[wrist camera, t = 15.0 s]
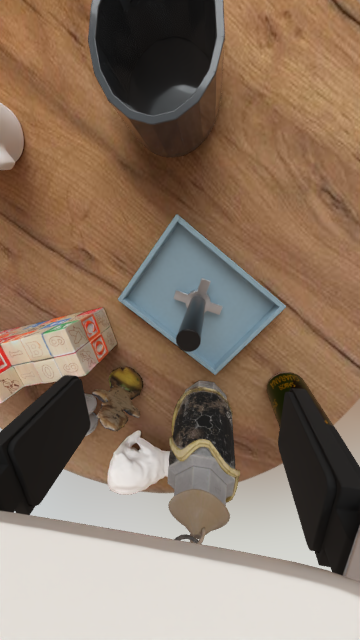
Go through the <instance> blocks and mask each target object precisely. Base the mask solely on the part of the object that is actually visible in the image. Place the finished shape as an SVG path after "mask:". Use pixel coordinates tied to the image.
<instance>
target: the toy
mask: <svg viewBox="0 0 360 640" xmlns="http://www.w3.org/2000/svg"><path fill="white" fill-rule="evenodd" d="M142 380H143V379H142V378H141V377H140V375H139V374H138V373H136V372H135V371H134V369H132V368H129V367H124V368H122V367H121V368H120V367H119V368H117V369H116V370H113V372H112V373H111V374H110V376H109V382H110V388H111V389H110V390H109V392H107V391H105V390H103V389H101V390H99V389H96V390H94V392H93V393H92V395H94V396H96V397H97V398H98V399H99V400H101V401H102V402H103V403H102V404H101V406H102V407H101V410H100V412H99V413H98V415H97V419H100V423H101V424H102V426H103V427H104V428H106V429H110V430H112V431H118V430H120V428H122V427H124V425H125V424H126V422H127V421H128V417H127V415H126V414H125V413H124V412H123V410H124V411H125V412H127V413H128V414H129V415H132V416H134V417H137V418H139V417H140V411H139V410H138V409H137V408H135V407H134V406H133V404H132V401H131V400H132V399H134V398H135V397H136V396H138V395H140V392H141V390H142V387H143V381H142Z"/></svg>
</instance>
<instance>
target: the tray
mask: <svg viewBox="0 0 360 640" xmlns="http://www.w3.org/2000/svg"><path fill="white" fill-rule="evenodd" d="M202 278H203V279H206V280H209V281H211V282H210V285H209V288H208V290H207V293H208V294H209V296H210V302H212V303H215V304H218V305H221V306H223V308H222V310H221V312H220V315H218V314H215V313H212V312H210V311H206V312H205V313H204V320H203V328H202V335H201V343H200V346H199V347H198V348H197V349H196V350H194V351H191V352H186V351H185V352H186V353H187V354H189V355H190V356H191V357H193V358H194V359H195V360H196V361H198V362H199V363H200V364H202V365H203V366H204V367H205V368H207V369H208V370H209V371H211V372H212V373H213V374H215V375H216V374H217V373H218V372H219V371H220V370H221V369H222V368H223V367H224V366H225V365H226V364H227V363H228V362H229V361H230V360H232V359H233V358H234V357H235V356H236V355H237V354H238V353H239V352H240V351H241V350H242V349H243V348H244V347H245V346H246V345H247V344H248V343H249V342H250V341H251V340H252V339H253V338H254V337H255V336H256V335H258V334H259V333H260V332H261V331H262V330H263V329H264V328H265V327H266V326H267V325H268V324H269V323H270V322H271V321H272V320H273V319H274V318H275V317H276V316H277V315H278V314H279V313H280V312H281V311H283V310H284V309H285V308H286V306H285V305H284V304H283V303H282V302H281V301H279V300H278V299H277V298H276V297H275V296H273V295H272V294H271V293H270V292H269V291H268V290H266V289H265V288H264V287H263V286H262V285H260V284H259V283H258V282H257V281H256V280H255V279H253V278H252V277H251V276H250V275H249V274H247V273H246V272H245V271H244V270H243V269H242V268H240V267H239V266H238V265H237V264H236V263H234V262H233V261H232V260H231V259H230V258H228V257H227V256H226V255H225V254H224V253H223V252H221V251H220V250H219V249H218V248H217V247H215V246H214V245H213V244H212V243H211V242H210V241H208V240H207V239H206V238H205V237H204V236H202V235H201V234H200V233H199V232H198V231H197V230H195V229H194V228H193V227H192V226H191V225H189V224H188V223H187V222H186V221H185V220H184V219H182V218H181V217H180V216H179V215H177V214H176V215H175V217H174V218H173V220H172V221H171V223H170V224H169V226H168V227H167V228H166V230H165V231H164V233H163V234H162V236H161V237H160V239H159V240H158V242H157V243H156V244H155V246H154V247H153V249H152V250H151V252H150V253H149V255H148V256H147V258H146V259H145V261H144V262H143V263H142V265H141V266H140V268H139V269H138V271H137V272H136V274H135V275H134V277H133V278H132V279H131V281H130V282H129V284H128V285H127V287H126V288H125V290H124V291H123V293H122V294H121V295H120V297H119V298H118V300H119V301H120V302H121V303H123V304H124V305H125V306H126V307H128V308H129V309H130V310H132V311H133V312H134V313H136V314H137V315H138V316H139V317H141V318H142V319H143V320H145V321H146V322H147V323H148V324H150V325H151V326H152V327H154V328H155V329H156V330H158V331H159V332H160V333H161V334H163V335H164V336H165V337H167V338H168V339H169V340H170V341H172V342H173V343H174V344H176V345H177V343H176V336H177V334H178V331H179V329H180V326H181V324H182V321H183V318H184V316H185V313H186V311H187V307H186V303H184V302H181V301H178V300H175V299H173V298H174V295H175V292H176V290H178V291H181V292H184V293H186V294H189V293H190V292H191V291H192V290H195V289H198V287H199V284H200V281H201V279H202ZM177 346H178V345H177Z"/></svg>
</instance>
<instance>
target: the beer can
mask: <svg viewBox="0 0 360 640" xmlns="http://www.w3.org/2000/svg"><path fill="white" fill-rule="evenodd" d="M291 388H294V389H306V390H307V391H308V393H309V395H310V396H311V398H312V400H313V401H314V403H315V405H316V406H317V408H318V410H319V412H320V413H321V415H322V417H323V418H324V420H325V422H326V423H327V425H332V426H333V424H332V423H331V421H330V420H329V418H328V417H327V415H326V414H325V412H324V411H323V409H322V408H321V406H320V404H319V403H318V401H317V400H316V398H315V397H314V395H313V394H312V392H311V391H310V389H309V388H308V386H307V385H306V383H305V382H304V380H303V379H302V378H301V377H300V376H298V375H296V374H294V373H291V372H281V373H277V374H275V375H274V376H273V377H272V378H271V379H270V380H269V382H268V385H267V393H268V396H269V399H270V402H271V405H272V407H273V410H274V413H275V416H276V419H277V421H278V424H279V427H280V424H281V417H282V410H283V403H284V396H285V392H289V391H290V389H291Z"/></svg>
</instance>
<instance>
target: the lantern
mask: <svg viewBox="0 0 360 640" xmlns="http://www.w3.org/2000/svg"><path fill="white" fill-rule="evenodd" d="M172 436H173V437H170V440H169V443H170V447H171V449H170V455H169V467H168V484H169V485H170V486H171V487H172V488H173V489H175V493H174V497H173V498H172V499H171V501H170V502H169V510H170V512H171V514H172V515H173V516H174V517H175V518H176V519H177V520H178V521H179V522H180V523H181V524H182V525H184V526H185V527H186V528H187V529H188V530H189V532H190V533H191V534H190V535H180V536H179V537H177V538H176V539H174V540H179V541H180V540H181V539H190V542H191V543H194V542H195V543H196V544H201V543H202V542H203V539H204V536H205V535H206V534H207V533H209V532H210V531H212V530H216V529H218V528H221V527H222V526H224V525H225V524H226V523H227V522H228V521H229V518H230V514H229V512H228V510H227V508H226V502H229V501H231V500H232V498H233V497H234V495H235V492H236V489H237V485H238V479H239V476H240V471H239V470H237V469H236V470H235V455H234V439H233V424H232V410H231V407H230V405H229V403H228V401H227V398H226V395H225V394H224V393H223V391H222V390H221V389H220V388H219V387H218V386H217V385H216V384H215V383H214V382H207V381H198V382H196V383H195V384H194V385H192V386H191V387H189V388H188V389H186V390H185V393H184V394H183V395H182V396H181V397H180V399H179V401H178V403H177V405H176V407H175V410H174V414H173V419H172ZM197 539H200V540H199V541H198V540H197ZM201 545H202V544H201Z"/></svg>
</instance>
